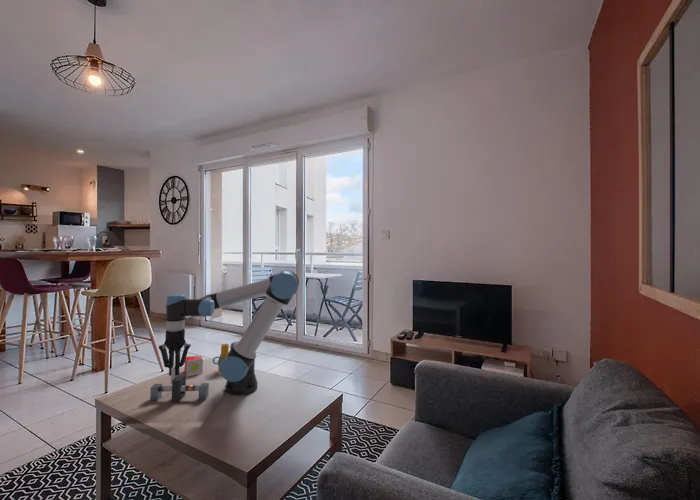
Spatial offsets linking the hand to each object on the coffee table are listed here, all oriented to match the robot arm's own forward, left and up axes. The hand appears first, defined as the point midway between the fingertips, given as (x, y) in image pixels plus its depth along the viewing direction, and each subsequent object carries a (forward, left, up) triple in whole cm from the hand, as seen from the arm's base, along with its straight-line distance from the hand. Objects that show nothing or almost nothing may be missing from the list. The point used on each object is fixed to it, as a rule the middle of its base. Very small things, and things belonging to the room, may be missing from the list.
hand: (173, 382), depth 145 cm
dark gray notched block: (-2, 0, -7) cm, 8 cm away
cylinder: (-13, -36, -9) cm, 39 cm away
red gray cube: (+3, -35, -9) cm, 36 cm away
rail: (-3, 0, -9) cm, 9 cm away
